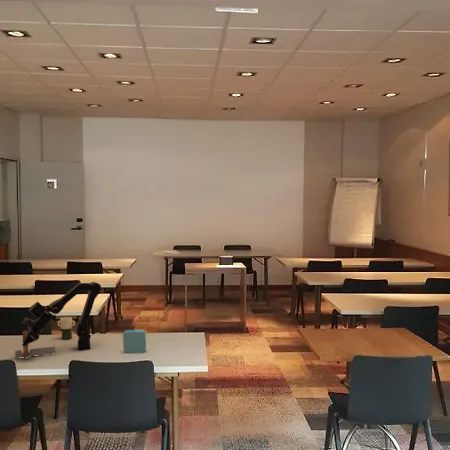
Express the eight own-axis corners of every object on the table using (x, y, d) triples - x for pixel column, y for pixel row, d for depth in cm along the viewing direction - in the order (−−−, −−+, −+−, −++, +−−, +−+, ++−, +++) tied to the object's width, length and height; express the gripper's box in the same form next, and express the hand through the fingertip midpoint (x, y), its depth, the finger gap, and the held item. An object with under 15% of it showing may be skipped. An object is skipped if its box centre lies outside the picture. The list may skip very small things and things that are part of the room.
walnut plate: (28, 355, 304) (27, 330, 304) (28, 358, 298) (27, 333, 297) (23, 355, 304) (22, 331, 303) (23, 359, 297) (22, 334, 296)
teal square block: (146, 350, 309) (145, 329, 308) (144, 352, 304) (144, 331, 303) (125, 350, 309) (124, 329, 308) (123, 353, 304) (122, 331, 304)
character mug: (77, 337, 342) (76, 316, 342) (73, 340, 335) (72, 319, 334) (60, 337, 343) (59, 317, 342) (56, 340, 336) (55, 319, 335)
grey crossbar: (55, 353, 307) (54, 346, 307) (55, 354, 305) (55, 347, 305) (15, 357, 300) (15, 350, 300) (15, 359, 298) (15, 352, 298)
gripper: (31, 309, 310) (11, 330, 306) (31, 316, 292) (10, 338, 289) (46, 321, 313) (27, 342, 309) (47, 328, 295) (27, 351, 292)
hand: (22, 343), depth 300 cm, fingers open, 9 cm apart
